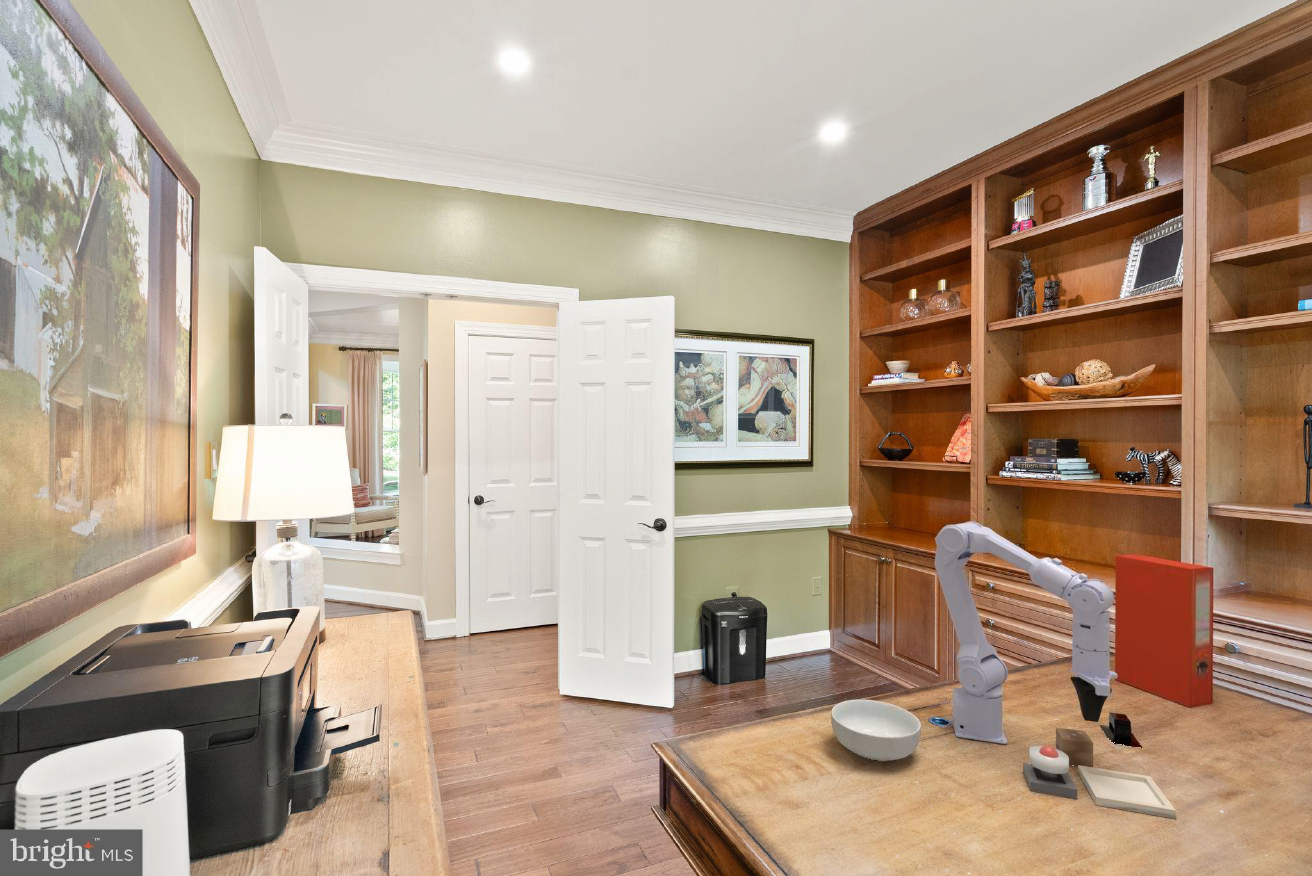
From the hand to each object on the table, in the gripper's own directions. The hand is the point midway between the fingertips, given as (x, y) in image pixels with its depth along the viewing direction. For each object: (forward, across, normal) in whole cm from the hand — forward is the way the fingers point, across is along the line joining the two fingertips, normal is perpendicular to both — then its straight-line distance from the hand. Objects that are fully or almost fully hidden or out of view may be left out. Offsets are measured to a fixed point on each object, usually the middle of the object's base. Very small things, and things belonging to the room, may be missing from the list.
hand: (1090, 719), depth 116 cm
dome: (+8, -7, +8) cm, 13 cm away
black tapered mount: (+11, +19, -10) cm, 24 cm away
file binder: (+10, +50, -28) cm, 58 cm away
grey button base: (+10, -7, +8) cm, 15 cm away
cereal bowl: (+10, -5, +38) cm, 39 cm away
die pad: (+10, -6, -3) cm, 12 cm away
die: (+10, +4, +2) cm, 11 cm away
